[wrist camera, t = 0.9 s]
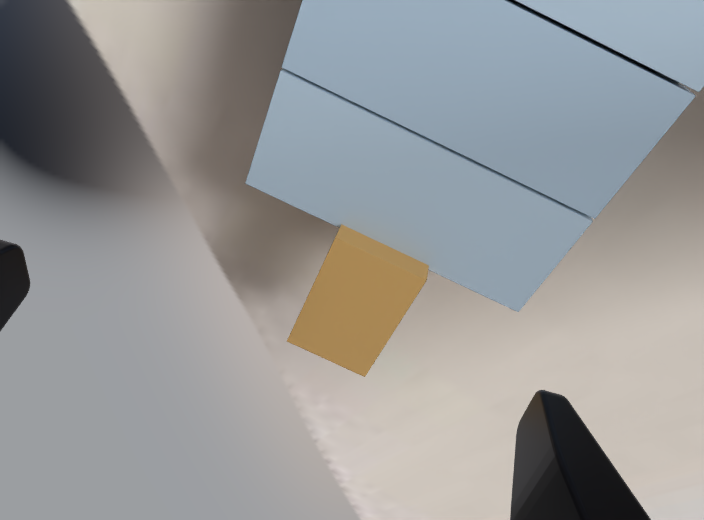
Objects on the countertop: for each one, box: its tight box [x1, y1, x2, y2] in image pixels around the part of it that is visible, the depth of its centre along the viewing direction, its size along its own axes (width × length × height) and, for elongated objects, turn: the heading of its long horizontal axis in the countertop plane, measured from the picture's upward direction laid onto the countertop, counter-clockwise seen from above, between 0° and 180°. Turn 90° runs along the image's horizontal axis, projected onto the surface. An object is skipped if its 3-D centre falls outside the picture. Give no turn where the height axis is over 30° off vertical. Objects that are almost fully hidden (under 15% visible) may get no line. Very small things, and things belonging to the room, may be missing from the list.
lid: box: [245, 0, 704, 377], centre depth 15 cm, size 9×16×2 cm, turn 157°
